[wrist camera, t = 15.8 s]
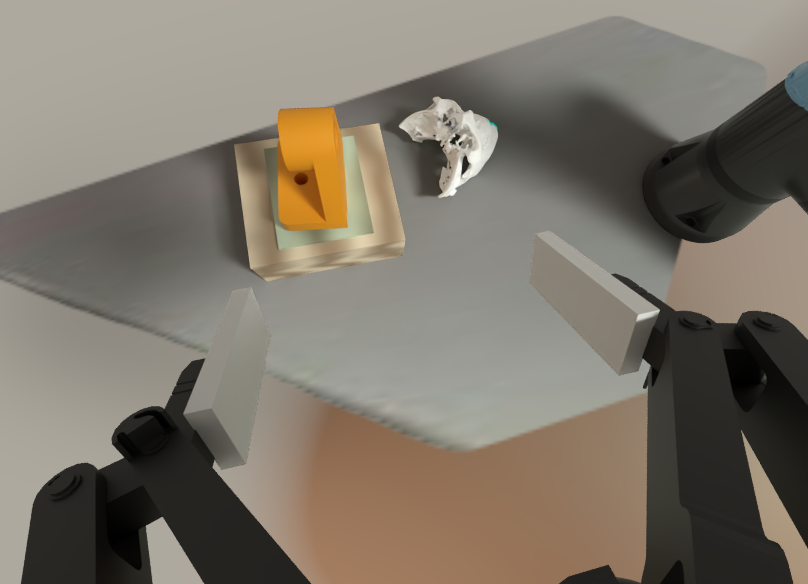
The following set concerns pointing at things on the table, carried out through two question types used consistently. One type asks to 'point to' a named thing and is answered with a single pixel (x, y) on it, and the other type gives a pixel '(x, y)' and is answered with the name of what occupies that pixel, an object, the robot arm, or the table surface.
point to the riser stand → (326, 248)
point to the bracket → (311, 170)
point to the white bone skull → (472, 132)
